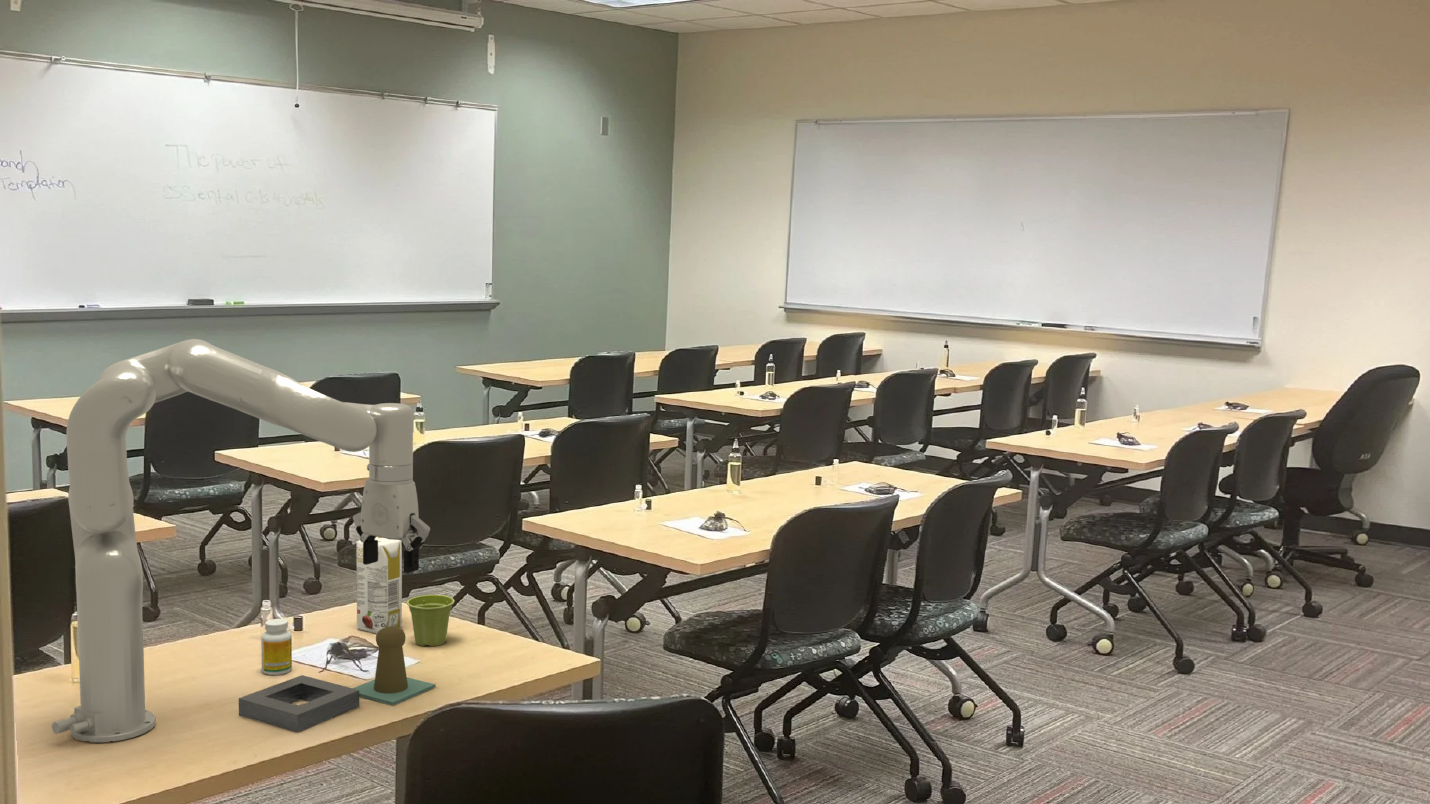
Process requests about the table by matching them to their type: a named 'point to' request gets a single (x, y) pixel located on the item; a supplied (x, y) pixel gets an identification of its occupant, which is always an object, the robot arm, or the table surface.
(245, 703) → the socket block
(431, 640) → the plant pot
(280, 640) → the supplement bottle
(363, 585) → the juice carton
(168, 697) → the table surface
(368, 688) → the rubber mat
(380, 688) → the cork
